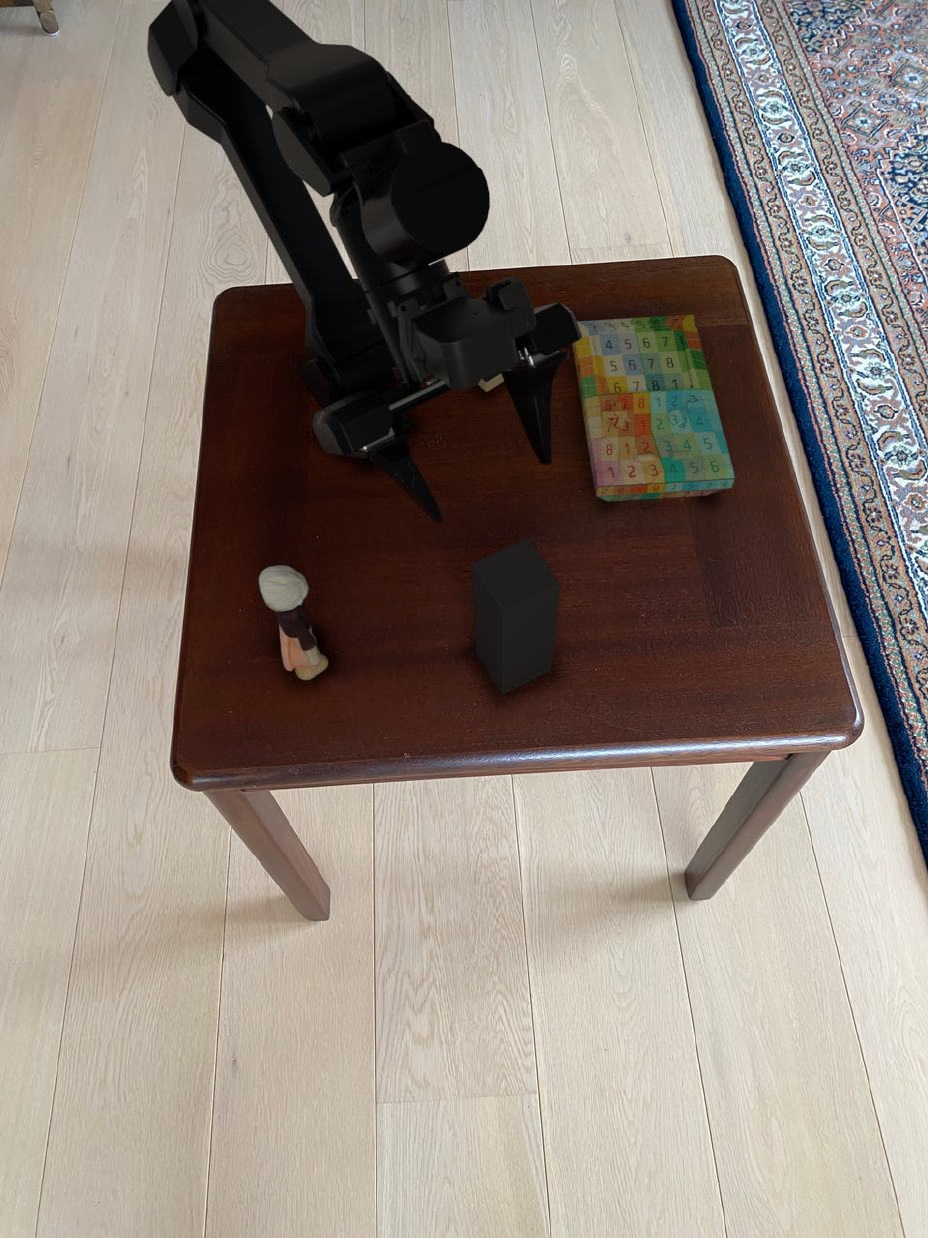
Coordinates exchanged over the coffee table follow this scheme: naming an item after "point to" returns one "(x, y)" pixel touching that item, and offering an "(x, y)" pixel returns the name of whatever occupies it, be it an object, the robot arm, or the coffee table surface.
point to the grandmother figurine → (292, 620)
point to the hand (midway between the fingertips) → (493, 492)
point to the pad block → (515, 614)
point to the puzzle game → (650, 410)
